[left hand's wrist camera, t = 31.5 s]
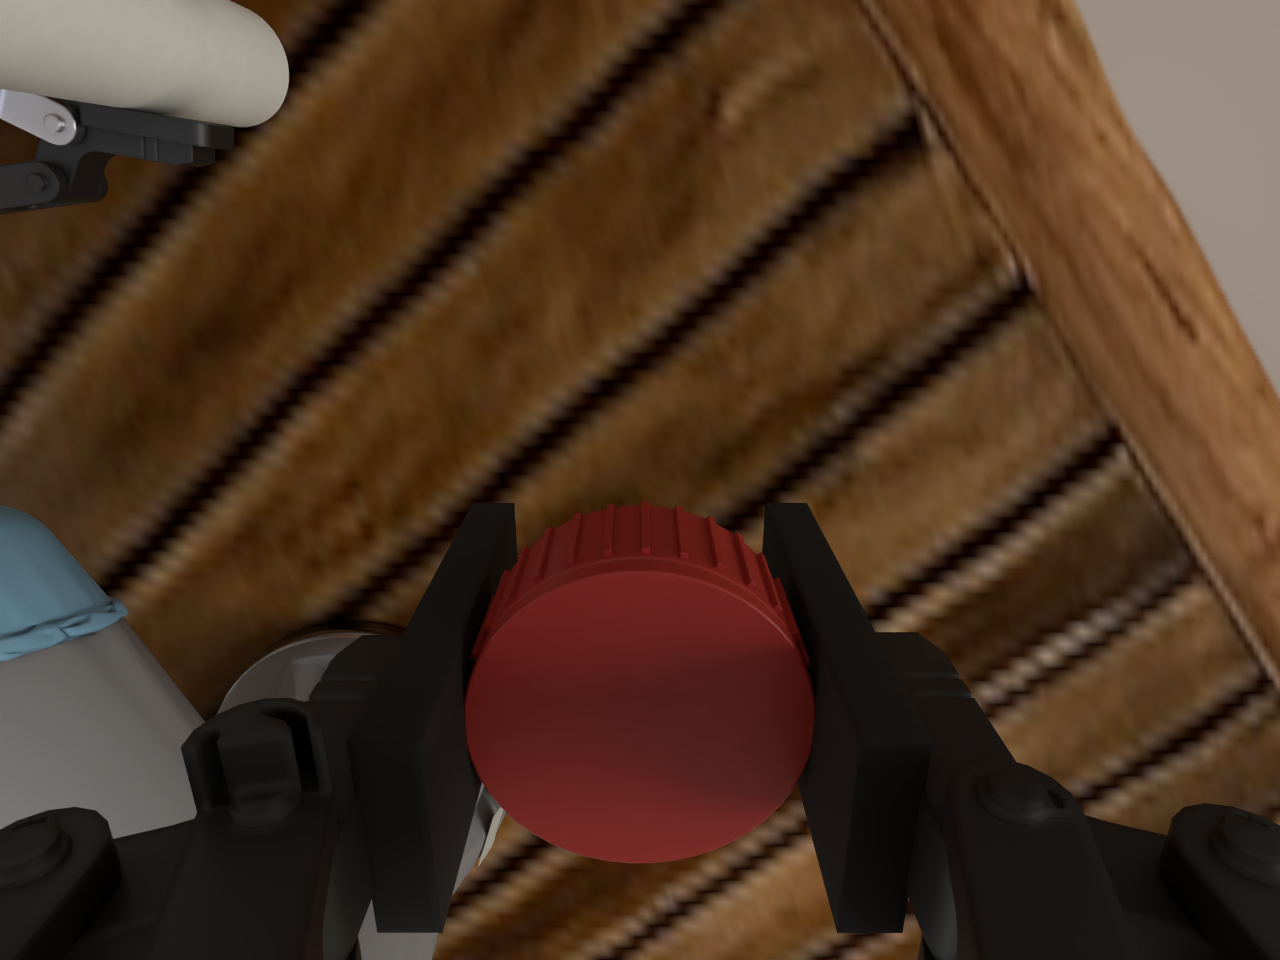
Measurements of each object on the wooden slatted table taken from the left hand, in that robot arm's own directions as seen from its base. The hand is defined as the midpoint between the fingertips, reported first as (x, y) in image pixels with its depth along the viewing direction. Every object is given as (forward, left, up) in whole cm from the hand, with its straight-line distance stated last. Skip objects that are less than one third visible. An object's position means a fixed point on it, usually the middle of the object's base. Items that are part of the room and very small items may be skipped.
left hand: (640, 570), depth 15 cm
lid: (0, 0, +4) cm, 4 cm away
